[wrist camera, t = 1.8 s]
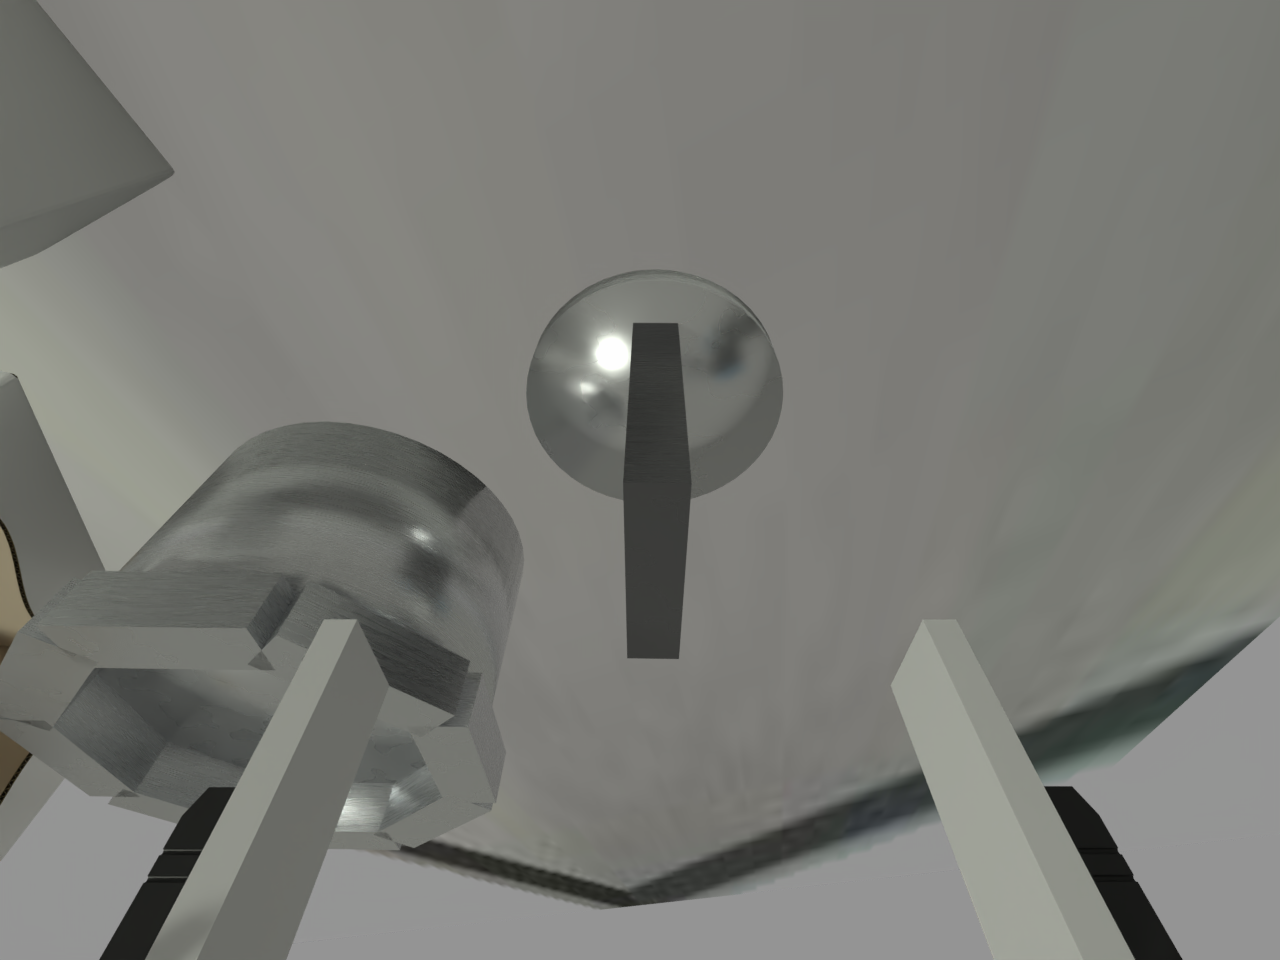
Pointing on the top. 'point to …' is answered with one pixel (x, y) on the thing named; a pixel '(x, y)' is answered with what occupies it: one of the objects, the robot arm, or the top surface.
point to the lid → (654, 418)
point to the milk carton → (60, 138)
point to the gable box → (31, 577)
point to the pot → (285, 633)
